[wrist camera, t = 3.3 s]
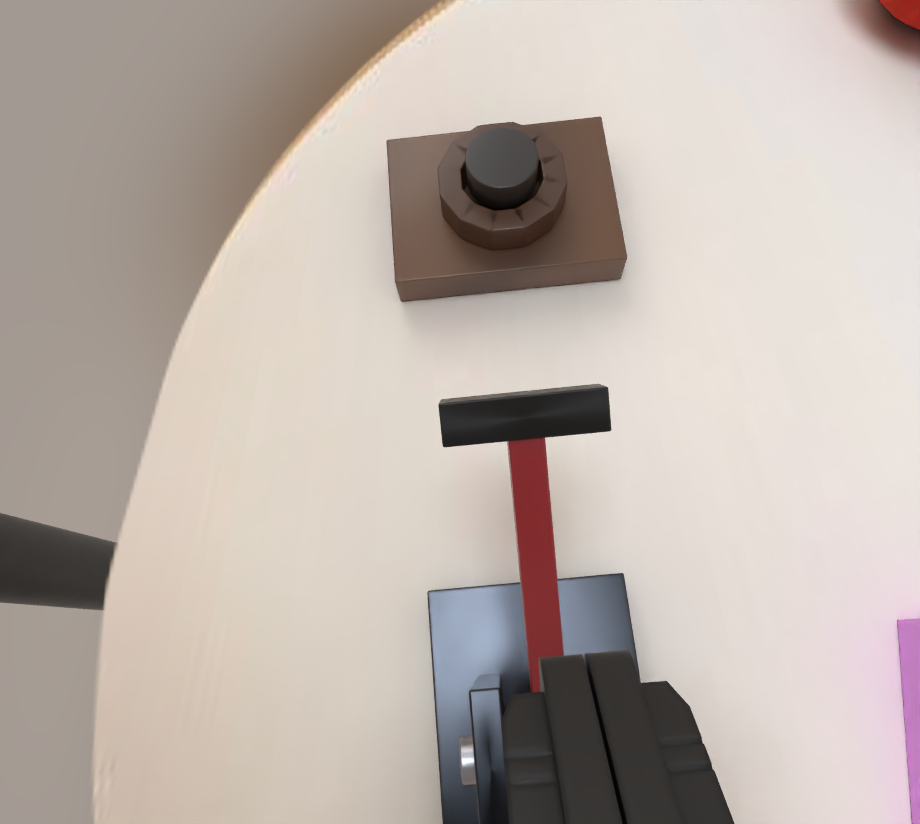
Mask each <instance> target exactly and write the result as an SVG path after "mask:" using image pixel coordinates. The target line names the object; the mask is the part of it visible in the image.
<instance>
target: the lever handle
mask: <svg viewBox="0 0 920 824" xmlns="http://www.w3.org/2000/svg"><path fill="white" fill-rule="evenodd" d="M439 414H440V424H441V433H442V443H443V447H453V446H463V445H473V444H484V443H494V442H504V441H507V445H508V456H509V467H510V477H511V488H512V498H513V509H514V520H515V530H516V541H517V552H518V562H519V573H520V583H521V594H522V605H523V615H524V626H525V637H526V647H527V658H528V669H529V679H530V690H531V693H532V692H541V691H540V675H539V657H551V656H563V655H564V649H563V638H562V626H561V615H560V604H559V592H558V581H557V569H556V558H555V547H554V535H553V524H552V513H551V501H550V490H549V478H548V467H547V456H546V444H545V437H556V436H566V435H576V434H587V433H597V432H607V431H611V419H610V406H609V393H608V387H605V386H603V385H600V384H592V385H582V386H572V387H562V388H552V389H542V390H531V391H521V392H511V393H501V394H491V395H481V396H471V397H461V398H450V399H442V400H441V401H440V403H439Z"/></svg>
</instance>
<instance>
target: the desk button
mask: <svg viewBox="0 0 920 824" xmlns="http://www.w3.org/2000/svg"><path fill="white" fill-rule="evenodd" d="M465 163H466V177H467V185H468V189H469V191H470V193H471V194H472V196H473V197H474V198H475V199H476V200H477V201H479V202H480V203H482V204H483V205H485V206H488V207H491V208H497V209H505V208H511V207H514V206H517V205H519V204H521V203H523V202H524V201H525V200H526V199H528V198H529V197H530V195H531V194H532V193H533V191H534V189H535V187H536V183H537V171H538V151H537V148H536V146H535V144H534V142H533V141H532V140H531V139H530V138H529V137H528V136H527V135H526V134H524V133H522V132H520V131H518V130H515V129H511V128H494V129H490V130H487V131H485V132H483V133H481V134H480V135H478V136H477V137H476V138H475V139H474V140H473V141H472V142H471V144H470V145H469V147H468V149H467V152H466V156H465Z"/></svg>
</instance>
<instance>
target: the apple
mask: <svg viewBox="0 0 920 824" xmlns="http://www.w3.org/2000/svg"><path fill="white" fill-rule="evenodd" d="M879 1H880V2H881V4H882V5H883V6H884V7H885V8H886V9H887V10H888V11H889V12H890V13H891V14H892V15H893V17H895V18H896V19H898V20H900V21H901V22H903V23H904V24H906V25H908V26H911V27H913V28H916V29H919V30H920V0H879Z"/></svg>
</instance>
